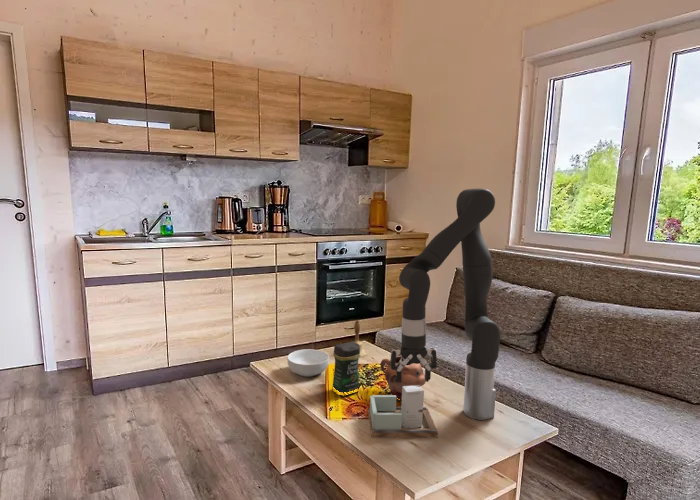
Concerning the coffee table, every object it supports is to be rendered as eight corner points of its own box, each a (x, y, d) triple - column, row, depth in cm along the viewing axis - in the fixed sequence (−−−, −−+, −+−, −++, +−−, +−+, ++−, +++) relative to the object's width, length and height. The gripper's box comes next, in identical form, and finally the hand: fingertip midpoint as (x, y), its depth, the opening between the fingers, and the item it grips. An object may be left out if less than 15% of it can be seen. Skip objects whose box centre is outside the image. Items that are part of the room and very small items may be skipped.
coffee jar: (341, 399, 153) (342, 349, 150) (329, 390, 159) (329, 342, 157) (362, 392, 159) (364, 344, 156) (350, 384, 165) (351, 338, 163)
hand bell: (346, 356, 193) (347, 322, 191) (349, 350, 201) (350, 317, 199) (364, 358, 192) (365, 323, 190) (367, 351, 200) (367, 318, 198)
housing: (395, 409, 143) (395, 395, 142) (401, 430, 130) (401, 414, 129) (369, 409, 142) (370, 395, 142) (373, 430, 130) (373, 414, 129)
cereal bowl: (298, 385, 164) (298, 367, 163) (280, 370, 177) (280, 353, 177) (336, 375, 173) (336, 358, 172) (316, 362, 187) (316, 346, 186)
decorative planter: (369, 392, 158) (370, 356, 156) (387, 382, 168) (388, 348, 166) (416, 410, 146) (417, 371, 144) (433, 398, 155) (435, 361, 153)
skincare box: (404, 429, 134) (405, 392, 133) (400, 421, 138) (401, 385, 137) (423, 427, 135) (424, 390, 134) (418, 420, 140) (419, 384, 138)
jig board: (427, 412, 144) (427, 406, 144) (437, 437, 130) (438, 431, 129) (368, 412, 144) (368, 406, 143) (371, 437, 129) (372, 431, 129)
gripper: (433, 327, 137) (432, 375, 139) (389, 328, 136) (389, 376, 138) (439, 334, 129) (438, 385, 131) (392, 335, 129) (392, 387, 131)
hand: (413, 381), depth 135 cm, fingers open, 8 cm apart
